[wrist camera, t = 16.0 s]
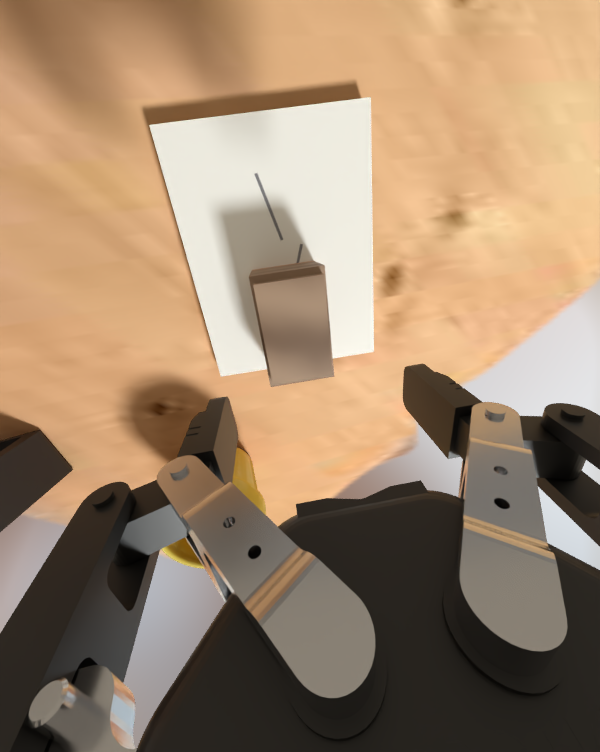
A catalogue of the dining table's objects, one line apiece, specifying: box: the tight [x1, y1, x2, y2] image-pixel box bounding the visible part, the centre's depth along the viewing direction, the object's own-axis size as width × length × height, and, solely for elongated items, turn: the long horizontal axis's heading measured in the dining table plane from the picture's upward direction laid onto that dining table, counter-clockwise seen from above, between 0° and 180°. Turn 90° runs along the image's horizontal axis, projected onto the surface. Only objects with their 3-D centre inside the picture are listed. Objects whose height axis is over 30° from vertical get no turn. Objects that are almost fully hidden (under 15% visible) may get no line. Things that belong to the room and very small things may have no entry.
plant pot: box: [162, 447, 266, 569], centre depth 31 cm, size 10×10×10 cm
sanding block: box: [249, 261, 334, 387], centre depth 24 cm, size 9×6×6 cm, turn 8°
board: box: [149, 97, 374, 376], centre depth 25 cm, size 20×16×2 cm
